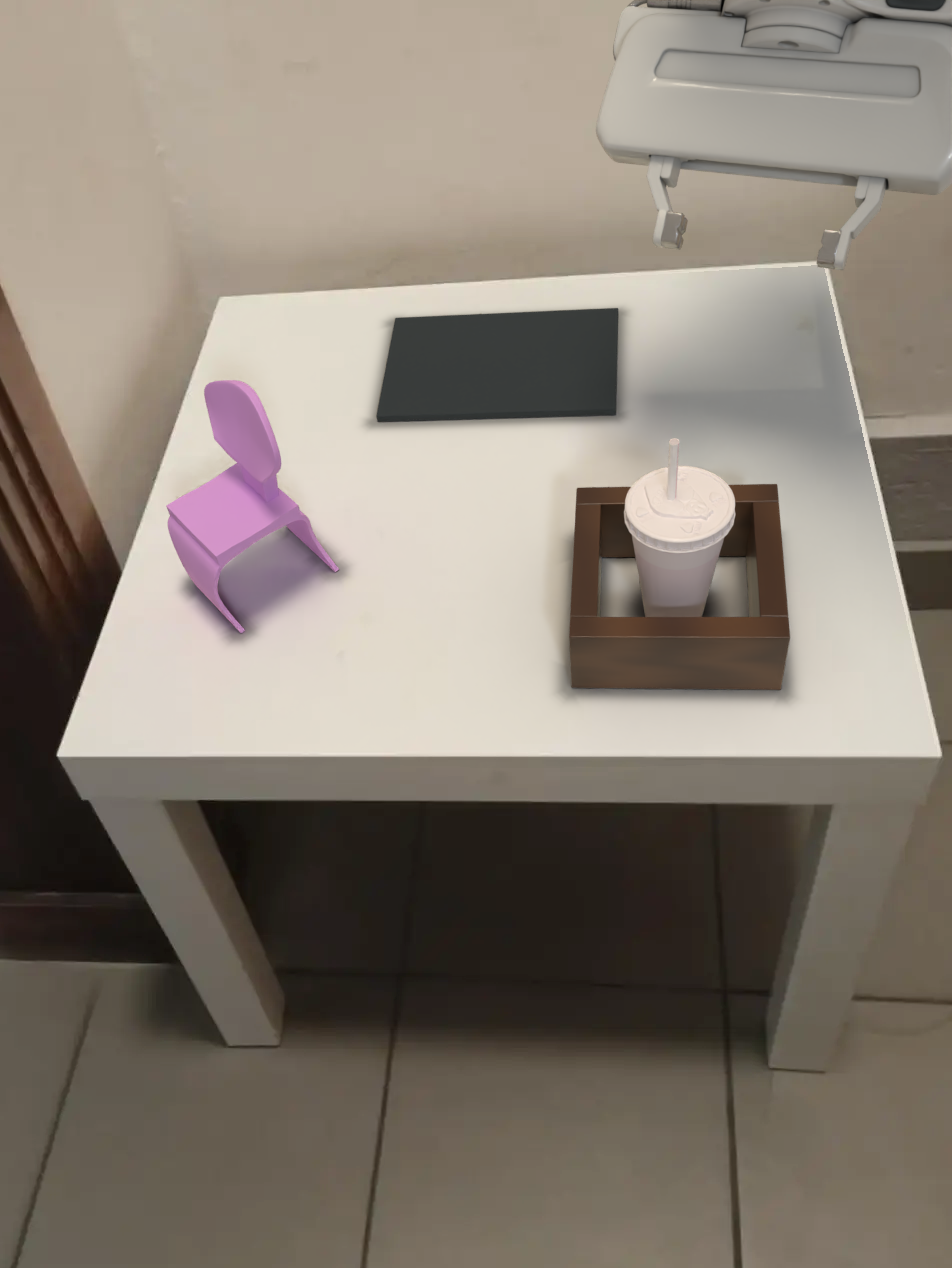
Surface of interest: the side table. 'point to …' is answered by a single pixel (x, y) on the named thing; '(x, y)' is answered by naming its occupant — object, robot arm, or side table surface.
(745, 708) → the side table surface
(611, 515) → the crate
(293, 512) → the toy chair
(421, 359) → the mat
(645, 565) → the smoothie
